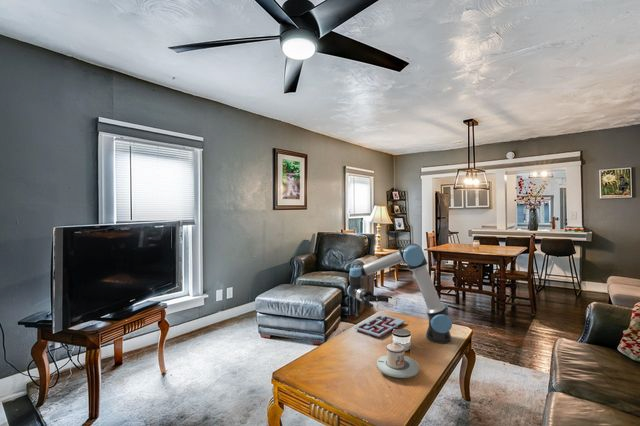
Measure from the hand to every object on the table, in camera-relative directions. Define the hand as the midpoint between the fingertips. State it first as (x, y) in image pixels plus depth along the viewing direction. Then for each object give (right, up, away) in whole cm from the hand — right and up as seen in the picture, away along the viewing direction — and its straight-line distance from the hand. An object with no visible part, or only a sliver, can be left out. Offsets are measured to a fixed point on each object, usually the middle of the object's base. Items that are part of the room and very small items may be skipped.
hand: (387, 305), depth 172 cm
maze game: (+5, -30, +46) cm, 55 cm away
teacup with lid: (+3, -27, -13) cm, 30 cm away
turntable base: (+3, -31, -13) cm, 33 cm away
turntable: (+3, -28, -13) cm, 31 cm away
